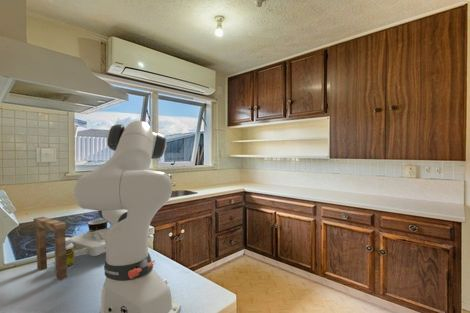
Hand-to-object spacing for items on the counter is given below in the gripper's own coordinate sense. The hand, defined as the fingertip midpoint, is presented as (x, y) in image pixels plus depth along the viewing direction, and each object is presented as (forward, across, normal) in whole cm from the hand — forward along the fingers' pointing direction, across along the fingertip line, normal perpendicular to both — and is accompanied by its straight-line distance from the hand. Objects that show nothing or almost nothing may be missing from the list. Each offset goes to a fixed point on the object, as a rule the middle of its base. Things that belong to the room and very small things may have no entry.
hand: (66, 251), depth 98 cm
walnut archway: (+5, 0, -6) cm, 8 cm away
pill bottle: (+1, 0, -6) cm, 6 cm away
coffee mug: (-20, +15, -6) cm, 26 cm away
